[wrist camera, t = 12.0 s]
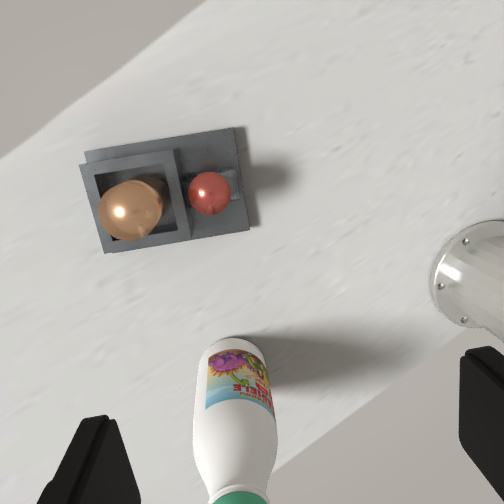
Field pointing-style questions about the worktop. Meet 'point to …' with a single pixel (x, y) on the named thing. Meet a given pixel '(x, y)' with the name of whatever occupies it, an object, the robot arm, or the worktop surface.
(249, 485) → the milk bottle
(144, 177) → the pipe stub
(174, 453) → the worktop surface
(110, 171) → the block
